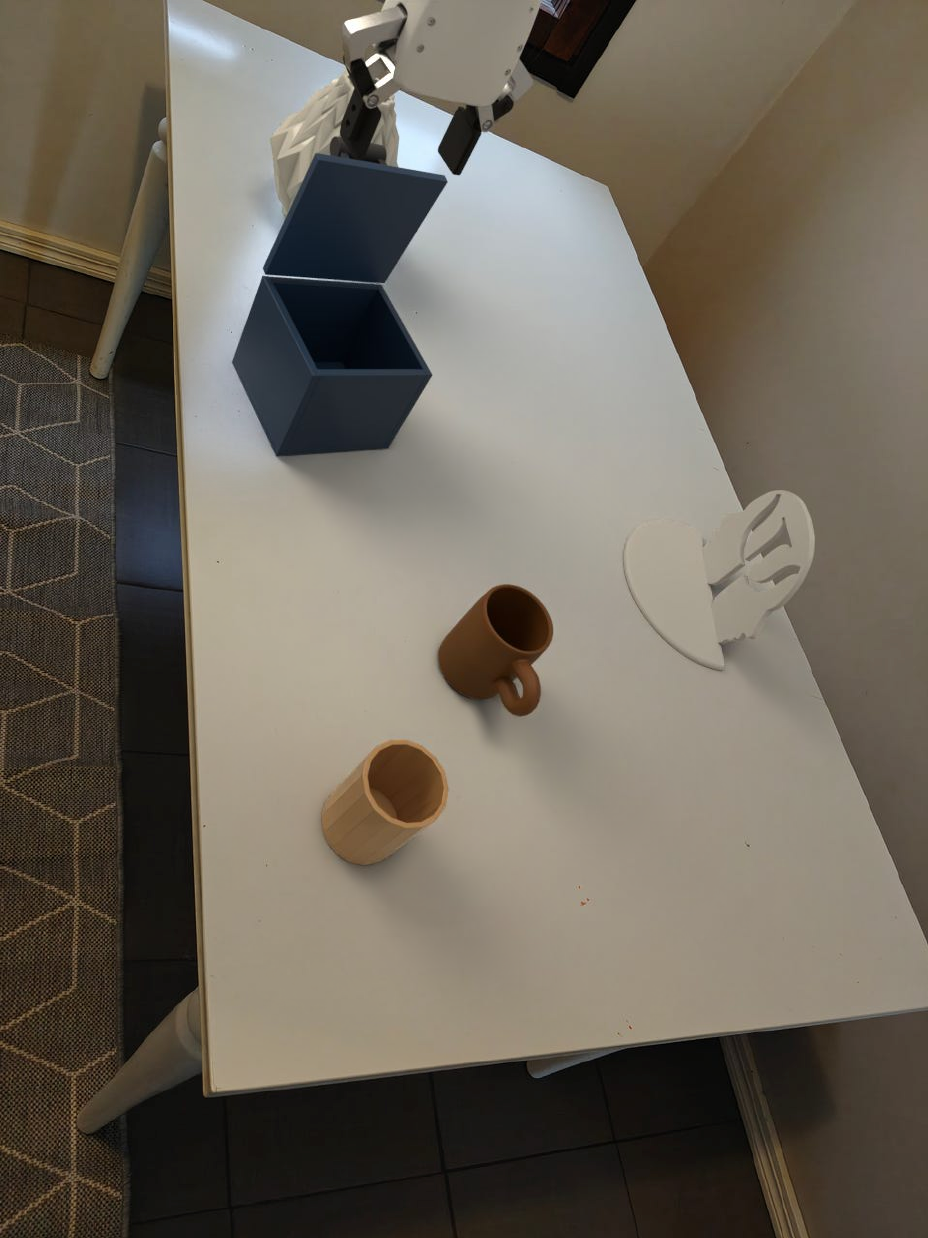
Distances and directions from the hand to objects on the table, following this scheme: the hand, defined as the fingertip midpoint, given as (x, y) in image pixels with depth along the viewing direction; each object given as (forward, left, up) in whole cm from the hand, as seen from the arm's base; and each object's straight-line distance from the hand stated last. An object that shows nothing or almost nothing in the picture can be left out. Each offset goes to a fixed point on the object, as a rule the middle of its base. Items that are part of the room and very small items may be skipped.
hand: (401, 155), depth 69 cm
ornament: (+49, +1, -29) cm, 57 cm away
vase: (-6, +32, -29) cm, 44 cm away
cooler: (+2, +1, -29) cm, 29 cm away
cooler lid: (-1, +5, -11) cm, 12 cm away
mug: (+26, -25, -29) cm, 46 cm away
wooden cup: (+18, -42, -29) cm, 54 cm away
